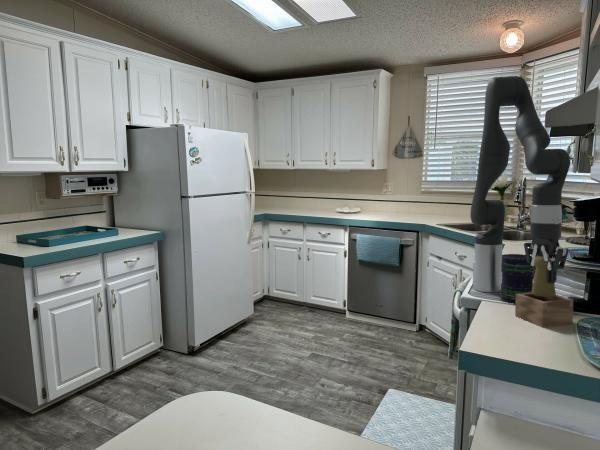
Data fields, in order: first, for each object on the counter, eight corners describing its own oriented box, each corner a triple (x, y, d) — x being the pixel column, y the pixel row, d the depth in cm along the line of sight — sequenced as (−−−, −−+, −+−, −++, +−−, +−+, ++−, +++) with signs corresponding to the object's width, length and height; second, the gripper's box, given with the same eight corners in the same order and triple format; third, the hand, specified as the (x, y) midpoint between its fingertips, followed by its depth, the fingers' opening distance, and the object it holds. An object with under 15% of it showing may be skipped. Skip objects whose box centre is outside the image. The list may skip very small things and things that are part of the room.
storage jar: (537, 305, 133) (538, 259, 131) (503, 304, 135) (504, 258, 134) (528, 297, 142) (530, 254, 141) (497, 296, 145) (498, 253, 144)
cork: (553, 298, 114) (554, 258, 113) (528, 294, 118) (529, 256, 117) (558, 293, 118) (559, 255, 117) (534, 290, 122) (535, 253, 122)
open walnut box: (515, 317, 123) (515, 294, 122) (543, 314, 125) (544, 291, 124) (542, 328, 113) (543, 303, 112) (572, 324, 115) (573, 299, 115)
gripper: (515, 219, 123) (514, 276, 124) (555, 223, 109) (552, 287, 110) (537, 218, 124) (536, 275, 126) (579, 222, 110) (576, 285, 112)
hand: (543, 280), depth 118 cm, fingers closed on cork, 4 cm apart
